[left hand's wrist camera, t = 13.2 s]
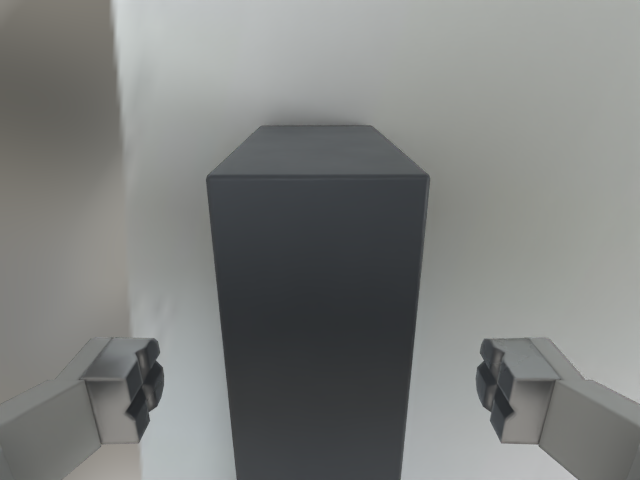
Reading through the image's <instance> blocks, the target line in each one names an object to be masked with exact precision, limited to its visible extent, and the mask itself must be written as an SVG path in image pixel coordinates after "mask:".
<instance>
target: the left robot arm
mask: <svg viewBox="0 0 640 480" xmlns="http://www.w3.org/2000/svg"><path fill="white" fill-rule="evenodd" d="M159 354H160V350H159V345H158V341H157V340H156V339H154V338H119V337H116V338H113V337H95V338H92V339H90V340H89V341H88V342H87V343H86V344H85V346H84V347H83V348H82V349H81V350H80V351H79V352H78V354H77V355H76V356H75V357H74V358H73V359H72V360H71V362H70V363H69V364H68V365H67V366H66V367H65V368H64V369H63V371H62V372H61V373H60V374H59V375H58V376H57V377H56V379H55V380H47V381H45V382H43V383H41V384H39V385H37V386H35V387H33V388H31V389H29V390H27V391H25V392H23V393H21V394H19V395H17V396H15V397H13V398H11V399H9V400H7V401H5V402H3V403H1V404H0V480H62V479H63V478H64V477H66V476H67V475H68V474H69V473H70V472H72V471H73V470H74V469H75V468H76V467H77V466H79V465H80V464H81V463H82V462H83V461H85V460H86V459H87V458H88V457H89V456H90V455H92V454H93V453H94V452H95V451H96V450H98V449H99V448H100V447H101V444H130V443H139V442H140V440H141V438H142V436H143V434H144V432H145V430H146V428H147V426H148V424H149V422H150V418H149V412H150V411H151V410H153V409H154V408H155V407H157V405H158V403H159V401H160V399H161V396H162V392H163V387H164V373H163V367H162V366H161V365H160V364H159V363H158V362H157V361H156V359H157V357H158V356H159ZM480 354H481V356H482V357H483V359H484V361H483V362H482V363H481V364H480V365H479V366H478V367H477V374H476V387H477V392H478V396H479V399H480V401H481V403H482V405H483V407H485V408H486V409H487V410H489V411H490V412H491V418H490V422H491V424H492V426H493V428H494V430H495V432H496V434H497V436H498V438H499V440H500V442H501V443H509V444H539V447H540V448H541V449H543V450H544V451H545V452H546V453H547V454H549V455H550V456H551V457H552V458H553V459H554V460H556V461H557V462H558V463H559V464H560V465H562V466H563V467H564V468H565V469H566V470H567V471H569V472H570V473H571V474H572V475H573V476H574V477H576V478H577V479H578V480H640V404H639V403H637V402H635V401H633V400H631V399H629V398H627V397H625V396H623V395H621V394H619V393H617V392H615V391H613V390H611V389H609V388H607V387H605V386H603V385H601V384H599V383H597V382H595V381H593V380H585V379H584V377H583V376H582V375H581V374H580V373H579V372H578V371H577V369H576V368H575V367H574V366H573V365H572V364H571V363H570V362H569V360H568V359H567V358H566V357H565V356H564V355H563V354H562V352H561V351H560V350H559V349H558V348H557V347H556V346H555V344H554V343H553V342H552V341H551V340H550V339H548V338H546V337H532V338H502V339H484V340H483V342H482V344H481V349H480Z"/></svg>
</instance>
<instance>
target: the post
mask: <svg viewBox="0 0 640 480" xmlns="http://www.w3.org/2000/svg"><path fill="white" fill-rule="evenodd" d="M206 184H207V194H208V203H209V213H210V223H211V233H212V242H213V252H214V262H215V272H216V281H217V291H218V301H219V311H220V320H221V330H222V340H223V349H224V359H225V369H226V379H227V388H228V398H229V408H230V418H231V427H232V437H233V447H234V457H235V466H236V476H237V480H401V470H402V460H403V450H404V440H405V429H406V419H407V409H408V399H409V389H410V379H411V368H412V358H413V348H414V338H415V328H416V318H417V307H418V297H419V287H420V277H421V267H422V257H423V246H424V236H425V226H426V216H427V206H428V196H429V185H430V177H429V175H428V174H427V173H426V172H425V171H424V170H422V169H421V168H420V167H419V166H418V165H417V164H415V163H414V162H413V161H412V160H411V159H410V158H408V157H407V156H406V155H405V154H404V153H403V152H402V151H400V150H399V149H398V148H397V147H396V146H395V145H393V144H392V143H391V142H390V141H389V140H388V139H387V138H385V137H384V136H383V135H382V134H381V133H380V132H378V131H377V130H376V129H375V128H374V127H373V126H261V127H259V128H258V129H257V130H256V131H255V132H254V133H253V134H252V135H251V136H250V137H249V138H248V139H246V140H245V141H244V142H243V143H242V144H241V145H240V146H239V147H238V148H237V149H236V150H235V151H234V152H232V153H231V154H230V155H229V156H228V157H227V158H226V159H225V160H224V161H223V162H222V163H221V164H220V165H218V166H217V167H216V168H215V169H214V170H213V171H212V172H211V173H210V174H209V175H208V176H207V178H206Z"/></svg>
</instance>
